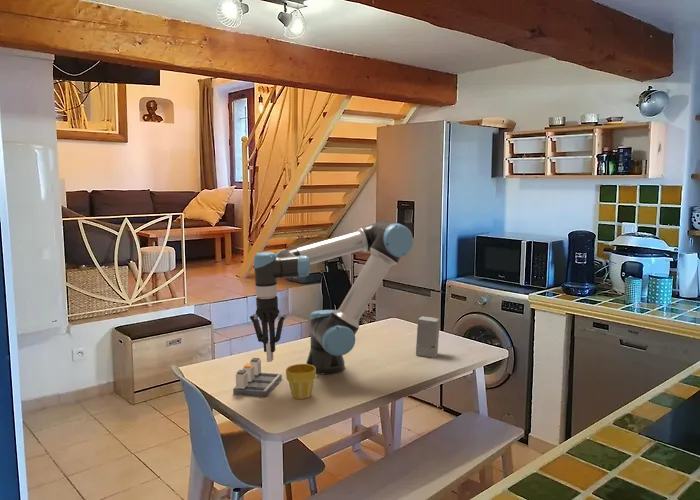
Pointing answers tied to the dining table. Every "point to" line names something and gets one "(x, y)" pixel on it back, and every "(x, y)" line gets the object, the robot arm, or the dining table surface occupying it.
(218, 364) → the dining table surface
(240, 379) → the breaker
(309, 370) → the plant pot
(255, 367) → the block
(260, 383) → the panel
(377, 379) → the dining table surface
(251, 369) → the block
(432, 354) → the skincare box
